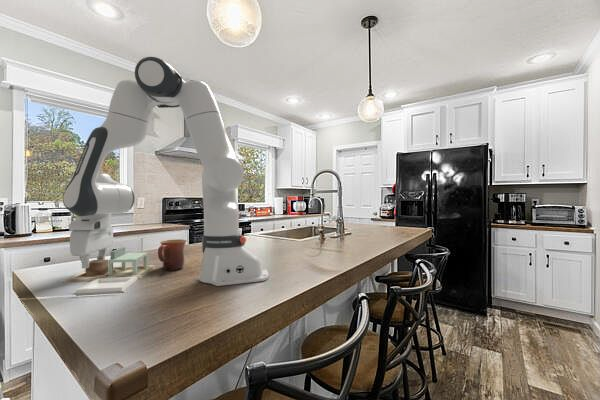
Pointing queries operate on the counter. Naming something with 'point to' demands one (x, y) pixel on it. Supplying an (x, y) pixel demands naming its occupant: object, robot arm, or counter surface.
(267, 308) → the counter surface
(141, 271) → the board
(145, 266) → the green stool
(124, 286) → the dish
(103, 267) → the block
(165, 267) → the mug
